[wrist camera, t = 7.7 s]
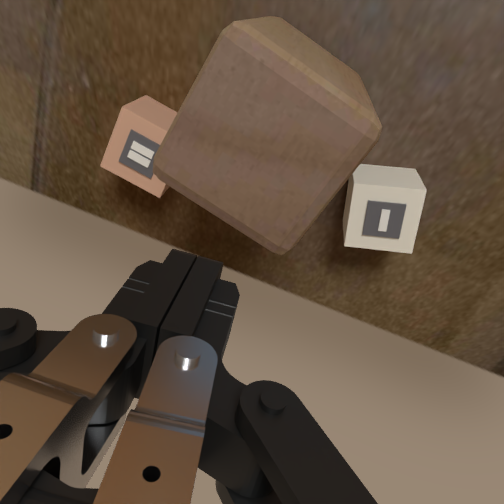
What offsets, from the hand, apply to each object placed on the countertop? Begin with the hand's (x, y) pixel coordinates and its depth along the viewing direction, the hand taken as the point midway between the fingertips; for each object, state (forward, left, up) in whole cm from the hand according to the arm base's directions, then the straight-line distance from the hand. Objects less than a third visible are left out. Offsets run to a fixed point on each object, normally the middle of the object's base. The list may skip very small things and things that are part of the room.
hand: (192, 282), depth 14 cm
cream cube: (-11, +7, -34) cm, 36 cm away
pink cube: (+11, +7, -34) cm, 36 cm away
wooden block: (0, 0, -34) cm, 34 cm away
